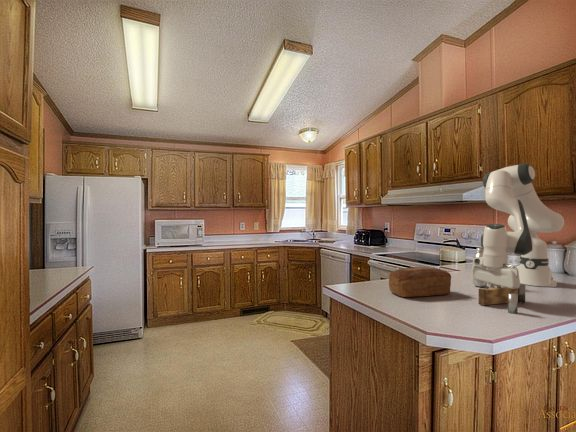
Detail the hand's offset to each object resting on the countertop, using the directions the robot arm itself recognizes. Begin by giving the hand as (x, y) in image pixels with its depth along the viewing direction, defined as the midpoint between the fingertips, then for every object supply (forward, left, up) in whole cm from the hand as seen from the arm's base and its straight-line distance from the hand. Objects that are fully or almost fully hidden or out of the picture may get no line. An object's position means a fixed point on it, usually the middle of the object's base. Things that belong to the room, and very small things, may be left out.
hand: (494, 294), depth 131 cm
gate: (+2, +2, -3) cm, 4 cm away
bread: (+14, -26, -4) cm, 30 cm away
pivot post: (-9, +7, -3) cm, 11 cm away
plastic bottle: (-25, -15, -3) cm, 29 cm away
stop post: (+11, +10, -3) cm, 15 cm away
